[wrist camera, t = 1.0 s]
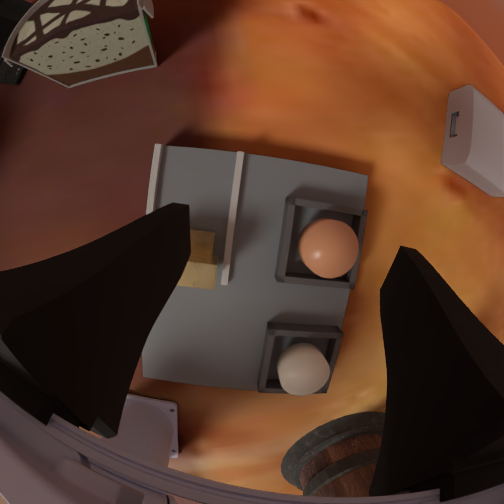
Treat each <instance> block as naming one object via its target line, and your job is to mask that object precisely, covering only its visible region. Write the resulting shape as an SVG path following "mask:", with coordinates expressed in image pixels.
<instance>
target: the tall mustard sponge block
mask: <svg viewBox="0 0 504 504" xmlns="http://www.w3.org/2000/svg"><path fill="white" fill-rule="evenodd" d="M190 239H191V255H190V257H189V260H188V262H187V265H186V267H185V269H184V272H183V274H182V276H181V278H180V280H179V282H178V284H177V285H179V286H187V287H195V288H203V289H211V290H215V284H216V279H217V271H218V262H219V255H213V249H214V240H215V232H214V231H205V230H197V229H190Z"/></svg>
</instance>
